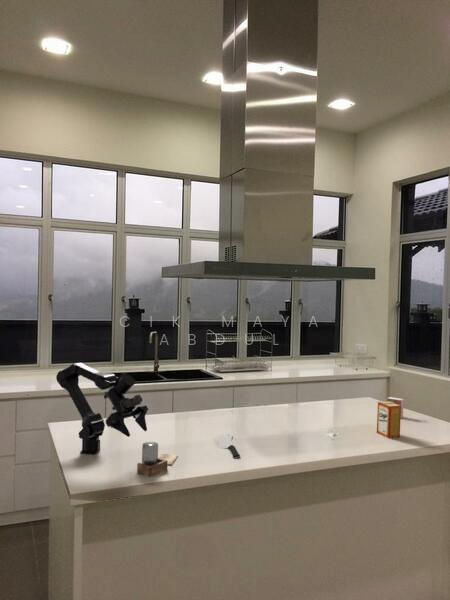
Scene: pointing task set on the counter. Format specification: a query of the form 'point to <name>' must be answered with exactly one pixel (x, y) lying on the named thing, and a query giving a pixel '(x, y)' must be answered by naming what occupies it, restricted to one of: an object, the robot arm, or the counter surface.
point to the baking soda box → (388, 419)
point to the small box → (398, 402)
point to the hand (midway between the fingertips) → (138, 433)
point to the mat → (168, 458)
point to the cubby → (152, 468)
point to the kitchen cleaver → (227, 444)
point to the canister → (150, 453)
